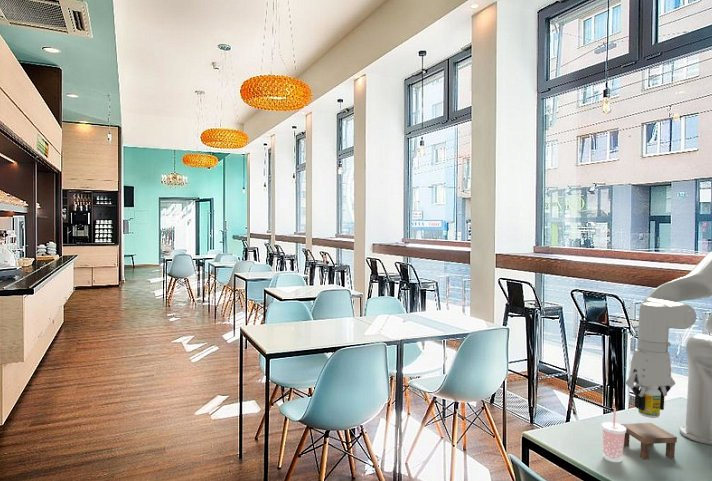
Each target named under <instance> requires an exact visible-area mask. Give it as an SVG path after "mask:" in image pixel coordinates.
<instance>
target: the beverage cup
mask: <svg viewBox="0 0 712 481" xmlns="http://www.w3.org/2000/svg"><path fill="white" fill-rule="evenodd" d="M616 412H617V409H616V408H613V420H612V421H613V422H608V421H607V422H602V423H601V429H602V449H603V450H602V455H603V458H604V459H605V460H606V461H609V462H612V463H613V462H614V463H620V462H622V460H623V454H624V437H625V433H626V427H624V426H623V425H621V424H620V423H617V422H616V417H617V416H616Z"/></svg>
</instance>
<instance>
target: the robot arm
mask: <svg viewBox="0 0 712 481" xmlns="http://www.w3.org/2000/svg"><path fill="white" fill-rule="evenodd" d="M709 297H712V251H710V252H708V253H707V254H706V255H705V257H704V258H703V259H701V261H699V262H698V263H697V265H696V266H694V267H693V268H692V269H691V271H690V272H688V274H687V275H685V276H683V277H682V276H681V277H679V278H676V279H673V280H671V281H668V282H665V283H663V284H661V285H659V286H657V287H656V288H655V289H654V290H652V292H650V293H649V294H648V295H647V297H646V298H645V299H644V300H643V301H642V303H641V304H640V305H639V309H638V312H639V313H638V329H637V330H638V331H637V347H636V348H635V349H634V351H633V353H632V358H631V362H630V366H629V367H630V369H629V378H628V379H627V380H626V381H625V385H626V386H627V387H628V388H630V390H631V392H632V393H633V394H634V407H635V408H636V409H638V410H639V409H640V410H642V411H644V410H645V397H644V396H643V395H644V392H645V389H646V387H651V386H655V385H657V386H659V387H658V390H659V391H660V392H661V401H660V411H664V408H665V397H667V396H668V392H670V391H671V388H672V387H674V386H675V385H676V382H675V380H674V379H673V377H672V362H671V356H670V352H669V347H671V342H669V335H670V333H669V332H670V329H674V330H686V329H690V328H691V327H692V326H693V325H694V324H695V323H696V321H697V313H696V310H695V309H694V308H693V307H692V306H691V305H689V304H688V303H683V302H684V301H695V300H702V299H705V298H709ZM705 323H706V324H705V326H706V327H705V328H706V330H707V332H708V333H710V335H709V334H695V335H694V334H693V335H692V336H691V337H689V338H688V339H687V342H686V345H685V351H686V352H685V353H686V358H687V359H686V360H687V366H688V373H687V374H688V377H687V380H688V382H687V392H686V393H687V396H686V413H685V414H686V415H685V416H686V417H685V424H683V425H681V426H680V427H679V433H680V434H681V436H683V437H685V438H688V439H689V440H692V441H695V442H698V443H701V444H704V445H705V444H706V445H711V446H712V311H711V312H710V314H709V315H708V318H707V320H706V322H705Z"/></svg>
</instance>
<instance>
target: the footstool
mask: <svg viewBox="0 0 712 481" xmlns="http://www.w3.org/2000/svg"><path fill="white" fill-rule="evenodd" d="M620 425H623V426H624V427H626V433H625V437H624V446H623V448H624V447H625V448H626V447H630V439H631V437H632V438H634V439H636V440H637V441H639V442H640V451H639V452H640V453H639V457H640V458H641V459H642V460H649V459H650V446H654V445H655V444H665V457H667V458H669V459H675V455H676V454H675V451H676V443H677V441H678V437H677V436H675V435H674V434H672V433H670V432H668V431H667V430H665V429H664V428H661V427H659V426H658V425H656V424H654V423H652V422H638V423H621V424H620Z"/></svg>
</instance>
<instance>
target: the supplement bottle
mask: <svg viewBox="0 0 712 481" xmlns="http://www.w3.org/2000/svg"><path fill="white" fill-rule="evenodd" d="M658 387H659V386H657V385H655V386H651V387H646V389H645V392H644V395H643V396H644V397H645V410H644V411H642V410H640V409H638V410H637V411H638V413H639V415H640V416H643V417H647V418H651V419H655V418H659V417H660V414H661V410H660V401H661V392H660V391H659V390H658Z"/></svg>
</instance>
